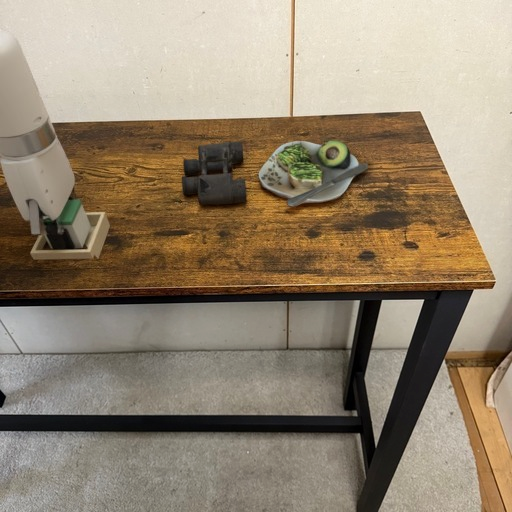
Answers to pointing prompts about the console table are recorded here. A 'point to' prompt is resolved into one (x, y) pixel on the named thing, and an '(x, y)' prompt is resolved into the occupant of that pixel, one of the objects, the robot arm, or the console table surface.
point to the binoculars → (218, 185)
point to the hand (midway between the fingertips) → (70, 235)
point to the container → (73, 222)
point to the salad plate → (310, 171)
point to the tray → (92, 242)
